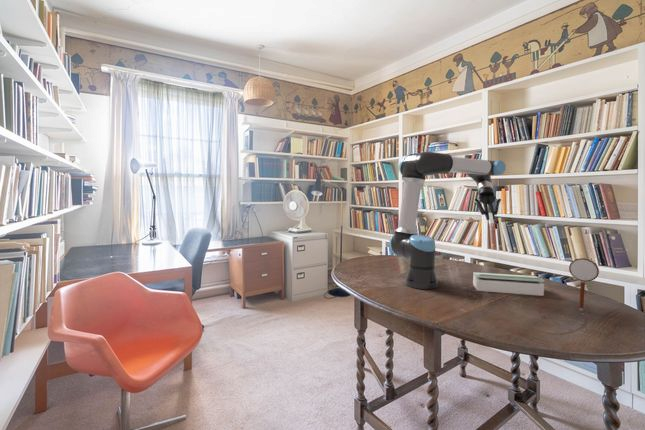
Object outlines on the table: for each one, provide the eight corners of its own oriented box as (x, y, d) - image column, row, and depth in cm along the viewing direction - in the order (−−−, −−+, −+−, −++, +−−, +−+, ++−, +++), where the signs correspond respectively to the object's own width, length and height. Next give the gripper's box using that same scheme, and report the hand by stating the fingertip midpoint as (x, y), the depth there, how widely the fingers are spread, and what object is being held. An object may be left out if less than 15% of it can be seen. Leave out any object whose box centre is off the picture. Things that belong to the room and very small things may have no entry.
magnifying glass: (596, 313, 114) (600, 260, 113) (595, 314, 113) (599, 260, 112) (567, 306, 121) (570, 256, 119) (566, 307, 120) (569, 256, 118)
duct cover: (477, 277, 140) (477, 274, 140) (473, 273, 150) (473, 271, 150) (544, 281, 133) (544, 278, 133) (535, 277, 142) (535, 274, 143)
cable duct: (477, 290, 141) (477, 279, 140) (473, 284, 150) (473, 274, 150) (543, 295, 133) (544, 284, 133) (534, 288, 143) (535, 278, 142)
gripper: (497, 195, 173) (504, 229, 158) (471, 195, 177) (476, 228, 162) (500, 186, 168) (507, 219, 153) (473, 186, 171) (478, 219, 157)
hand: (491, 224), depth 158 cm, fingers closed
